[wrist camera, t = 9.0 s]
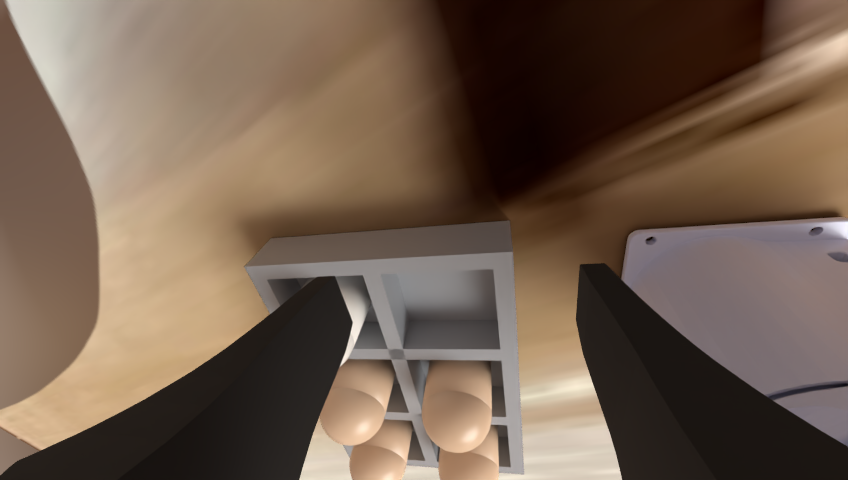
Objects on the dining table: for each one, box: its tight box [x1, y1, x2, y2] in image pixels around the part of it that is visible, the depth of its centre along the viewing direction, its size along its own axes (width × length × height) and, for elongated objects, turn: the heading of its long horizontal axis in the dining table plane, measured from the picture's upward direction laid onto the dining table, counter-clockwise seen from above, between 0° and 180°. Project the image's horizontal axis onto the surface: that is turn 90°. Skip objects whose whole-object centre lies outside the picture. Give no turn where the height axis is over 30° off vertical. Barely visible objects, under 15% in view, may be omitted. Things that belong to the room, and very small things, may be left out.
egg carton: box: [244, 221, 524, 480], centre depth 24 cm, size 15×22×7 cm
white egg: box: [301, 275, 372, 367], centre depth 21 cm, size 4×4×6 cm
